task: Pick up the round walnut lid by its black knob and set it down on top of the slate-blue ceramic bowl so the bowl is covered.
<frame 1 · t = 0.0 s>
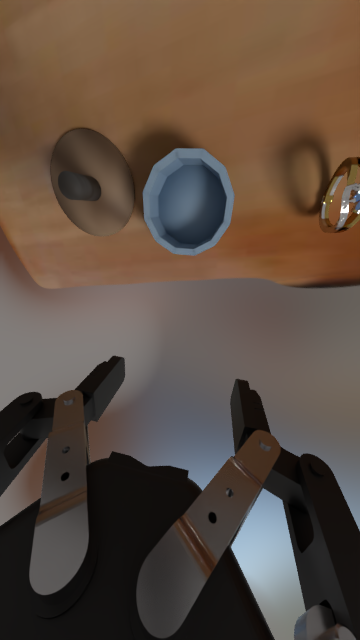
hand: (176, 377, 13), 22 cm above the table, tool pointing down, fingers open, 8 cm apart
ring: (324, 199, 24), on the table
bowl: (191, 208, 27), on the table
lid: (94, 189, 29), on the table
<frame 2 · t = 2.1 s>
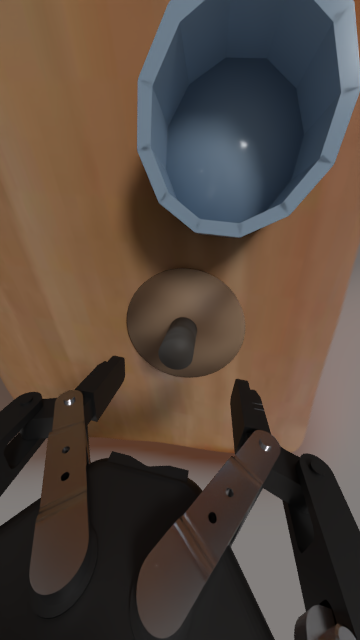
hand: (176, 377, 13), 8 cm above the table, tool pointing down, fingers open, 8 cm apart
bowl: (228, 158, 15), on the table
lid: (184, 326, 21), on the table
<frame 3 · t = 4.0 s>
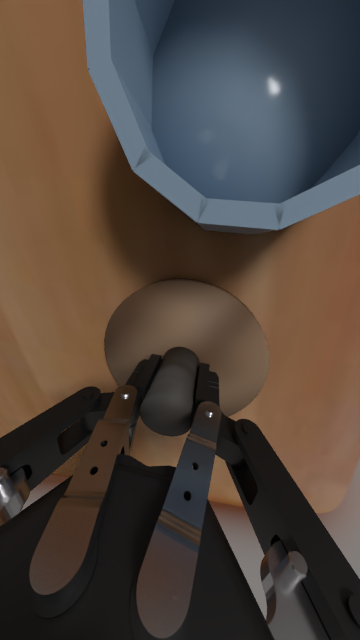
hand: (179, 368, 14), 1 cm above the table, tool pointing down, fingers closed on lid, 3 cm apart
bowl: (250, 109, 9), on the table
lid: (182, 357, 16), on the table, touching gripper
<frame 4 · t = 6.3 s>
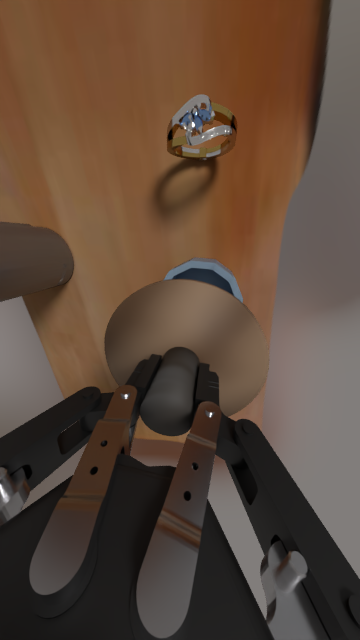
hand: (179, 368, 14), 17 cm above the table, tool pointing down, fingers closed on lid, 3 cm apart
ring: (203, 156, 23), on the table
bowl: (200, 295, 29), on the table
lid: (182, 357, 16), point 15 cm above the table, touching gripper
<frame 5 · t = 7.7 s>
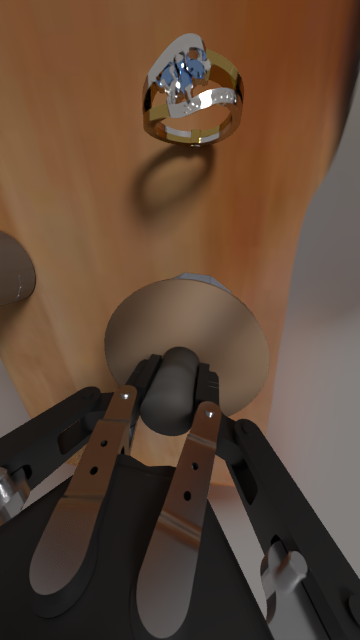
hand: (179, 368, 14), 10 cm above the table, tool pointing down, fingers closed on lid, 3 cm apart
ring: (196, 143, 17), on the table
lid: (182, 357, 16), point 9 cm above the table, touching gripper
when the fingers open (8 cm above the table, at t = 8.9 s): lid drops 1 cm, resting on bowl.
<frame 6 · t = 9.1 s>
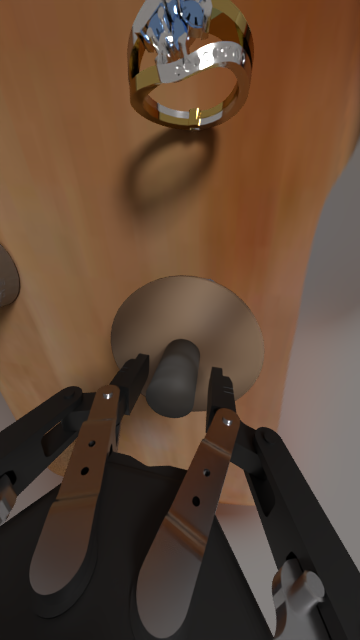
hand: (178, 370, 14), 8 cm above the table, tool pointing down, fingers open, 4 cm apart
ring: (195, 126, 15), on the table
lid: (183, 349, 17), point 5 cm above the table, touching bowl
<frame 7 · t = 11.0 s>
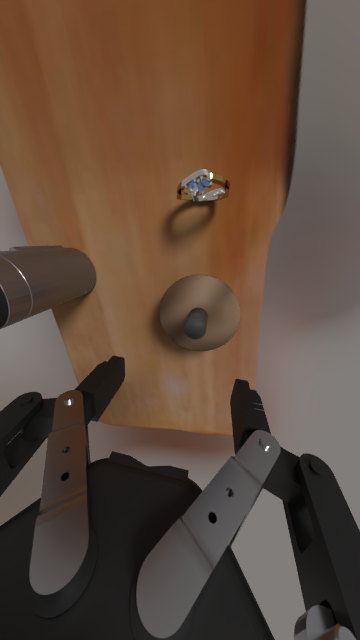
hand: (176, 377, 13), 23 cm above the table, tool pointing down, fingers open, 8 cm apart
ring: (204, 198, 29), on the table
lid: (198, 314, 31), point 5 cm above the table, touching bowl
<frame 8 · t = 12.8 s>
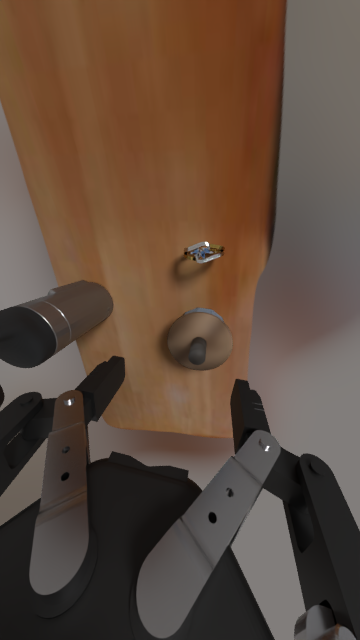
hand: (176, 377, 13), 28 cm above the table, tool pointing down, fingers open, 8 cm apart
ring: (204, 250, 36), on the table
lid: (199, 341, 38), point 5 cm above the table, touching bowl
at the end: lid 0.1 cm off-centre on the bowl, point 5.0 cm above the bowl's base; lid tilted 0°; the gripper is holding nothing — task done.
